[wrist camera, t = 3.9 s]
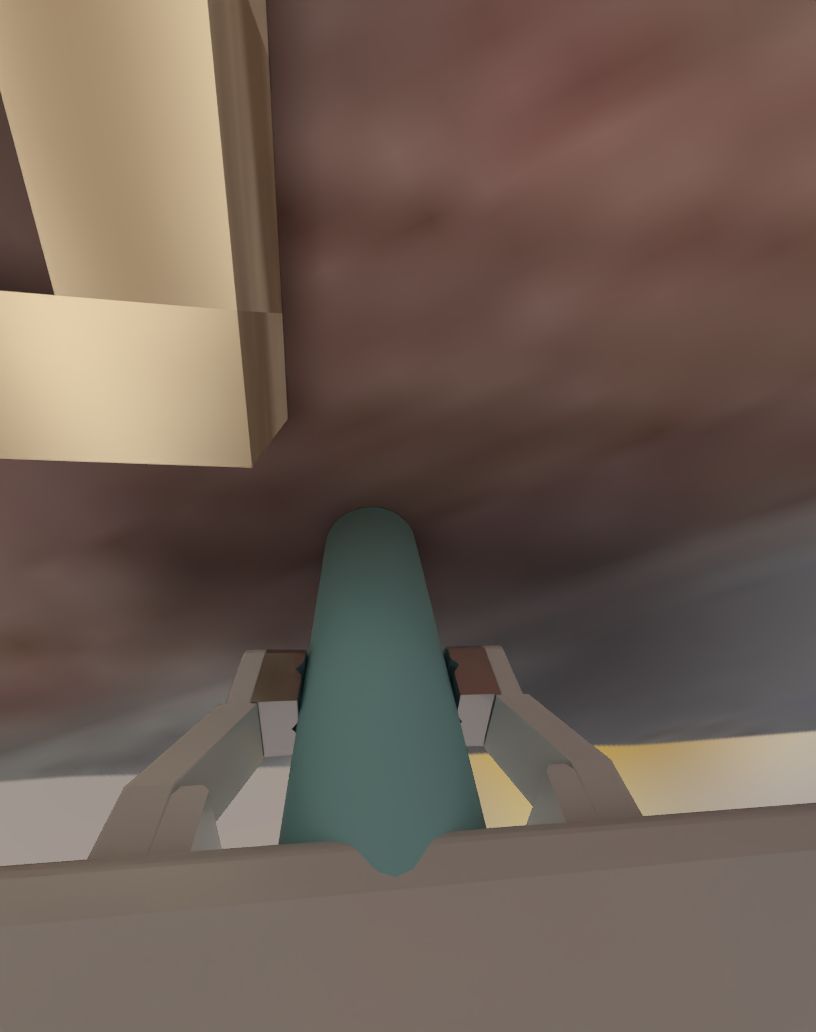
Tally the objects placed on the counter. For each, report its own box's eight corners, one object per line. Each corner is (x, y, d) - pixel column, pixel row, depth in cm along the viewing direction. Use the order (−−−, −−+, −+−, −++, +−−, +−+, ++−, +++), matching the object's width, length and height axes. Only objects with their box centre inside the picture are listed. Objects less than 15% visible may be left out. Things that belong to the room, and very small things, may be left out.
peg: (419, 508, 16) (654, 1265, 3) (411, 584, 17) (549, 1294, 5) (324, 505, 15) (156, 1379, 3) (326, 584, 17) (223, 1372, 4)
